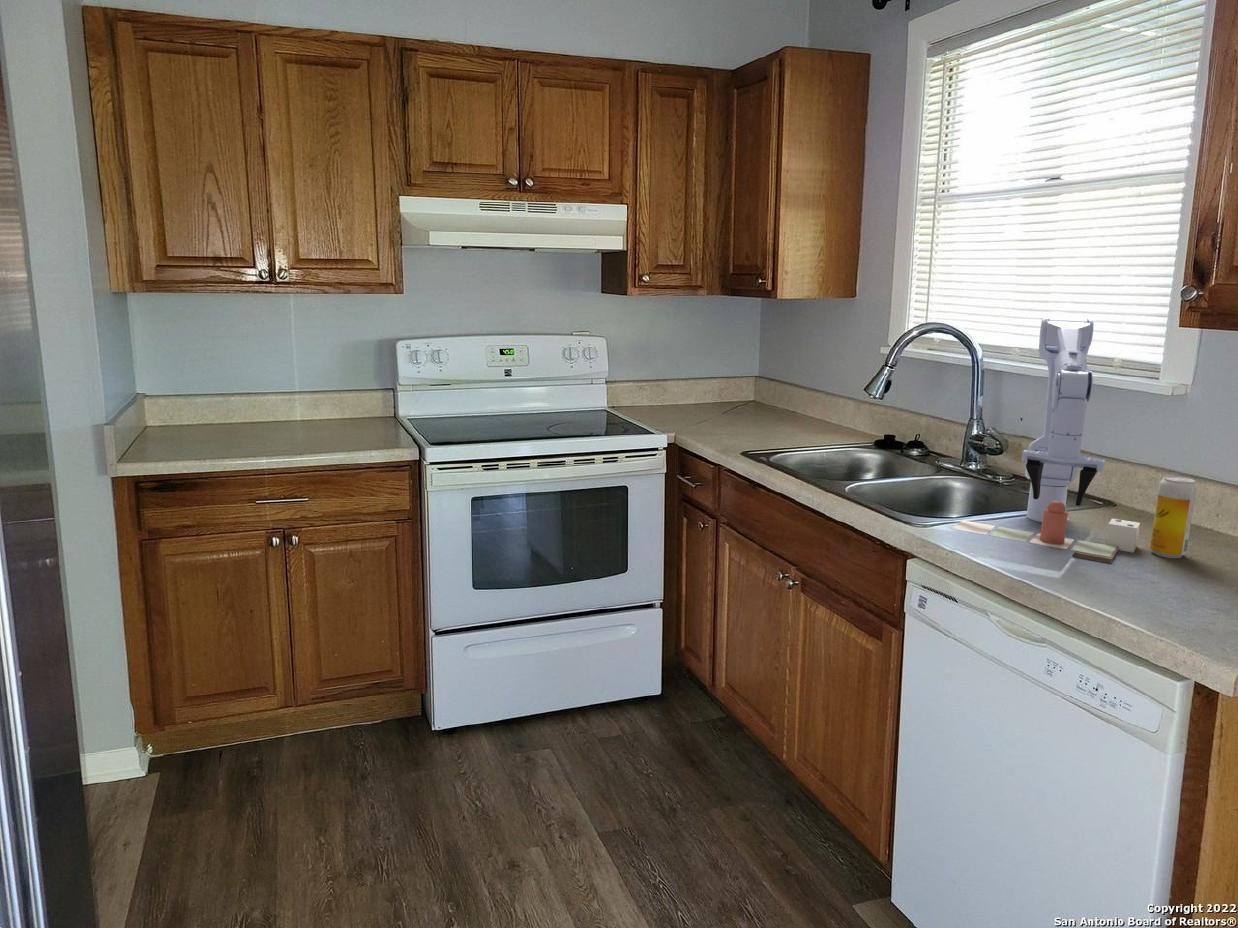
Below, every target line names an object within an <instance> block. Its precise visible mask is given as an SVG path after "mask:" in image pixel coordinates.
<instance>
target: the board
mask: <svg viewBox="0 0 1238 928" xmlns="http://www.w3.org/2000/svg"><path fill="white" fill-rule="evenodd" d="M996 527H997V526H996V525H993V524H992V525H991V524H985V523H982V522H975V521H968V520H963V519H962V520H961V521H959V522H958V523H957V524H955V525H954V526H953V527H951V528H950V529H951V530H955V531H961V532H967V533H972V534H973V533H974V534H978V535H982V536H983V535H988V534H989V533H990V532H991V531H992V530H993V529H995V528H996ZM1034 534H1035V532H1033V531H1029V530H1028V531H1027V530H1021V529H1015V528H1009V527H1004V526H998V527H997V528H996V529H995V530H994V531H992V532H991V534H989V535H988V536H989V537H995V538H1001V539H1007V540H1011V541H1012V540H1013V541H1018V542H1024V543H1026V542H1027V541H1028V540H1029V538H1031V537H1032V536H1033V535H1034ZM1040 534H1041V532H1040V533H1039V532H1038V533H1037V534H1036V535H1035V536H1034V537H1033V538H1032V539H1031V540H1030V541H1029V542H1028V543H1029V544H1034V545H1040V546H1046V547H1052V548H1056V549H1057V548H1058V549H1062V550H1063V549H1064V550H1067V549H1068V548H1069V547H1070V546H1071V545H1072V543H1074V541H1075V539H1072V538H1067V537H1065V540H1064V543H1063V544H1050V543H1046V542H1043V541H1041V540H1040ZM1070 551H1074V553H1073V554H1072V555H1071V557H1074V558H1080V559H1085V560H1091V561H1095V562H1096V561H1097V562H1101V563H1107V564H1112V562H1113V561H1114V559H1115V558H1116V556H1117V554H1118V553H1119V551H1120V550H1119V547H1116V546H1110V545H1105V544H1104V543H1097V542H1091V541H1086V540H1080V539H1078V540H1077V541H1076V542H1075V544H1074V545H1073V546H1072V548H1071V549H1070Z"/></svg>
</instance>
